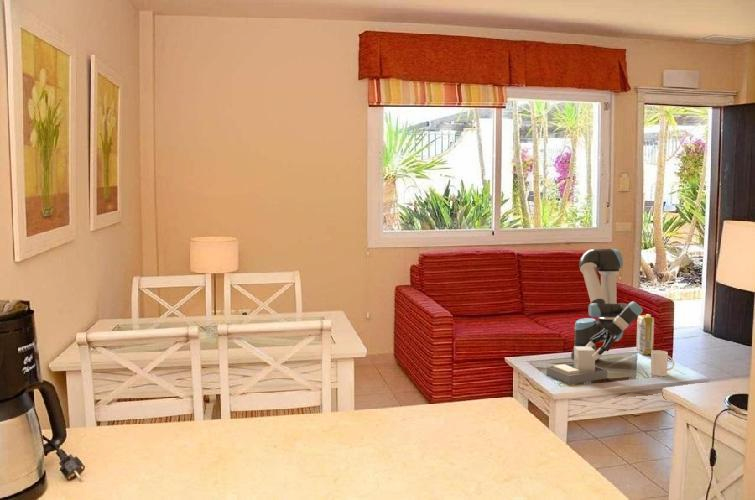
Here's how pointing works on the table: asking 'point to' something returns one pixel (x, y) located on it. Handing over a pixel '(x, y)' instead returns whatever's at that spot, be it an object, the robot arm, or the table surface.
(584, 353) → the supplement box
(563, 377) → the tray
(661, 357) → the mug
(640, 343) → the juice carton
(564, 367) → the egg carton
